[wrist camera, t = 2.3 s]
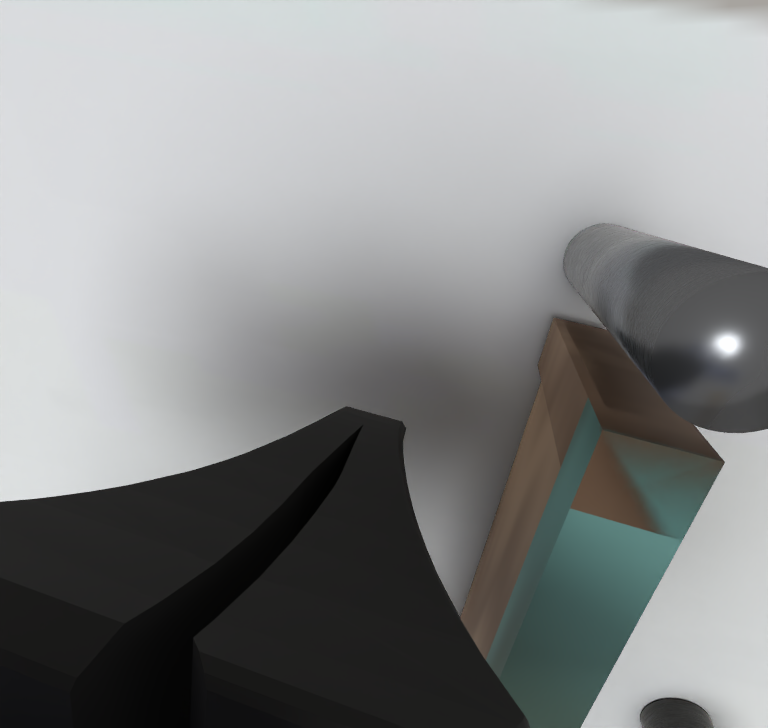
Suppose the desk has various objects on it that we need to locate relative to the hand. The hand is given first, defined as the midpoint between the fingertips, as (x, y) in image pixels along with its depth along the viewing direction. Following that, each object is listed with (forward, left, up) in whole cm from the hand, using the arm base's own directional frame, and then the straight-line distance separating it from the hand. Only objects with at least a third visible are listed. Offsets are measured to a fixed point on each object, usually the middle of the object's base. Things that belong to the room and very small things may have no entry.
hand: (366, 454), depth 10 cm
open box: (-3, -4, -3) cm, 6 cm away
